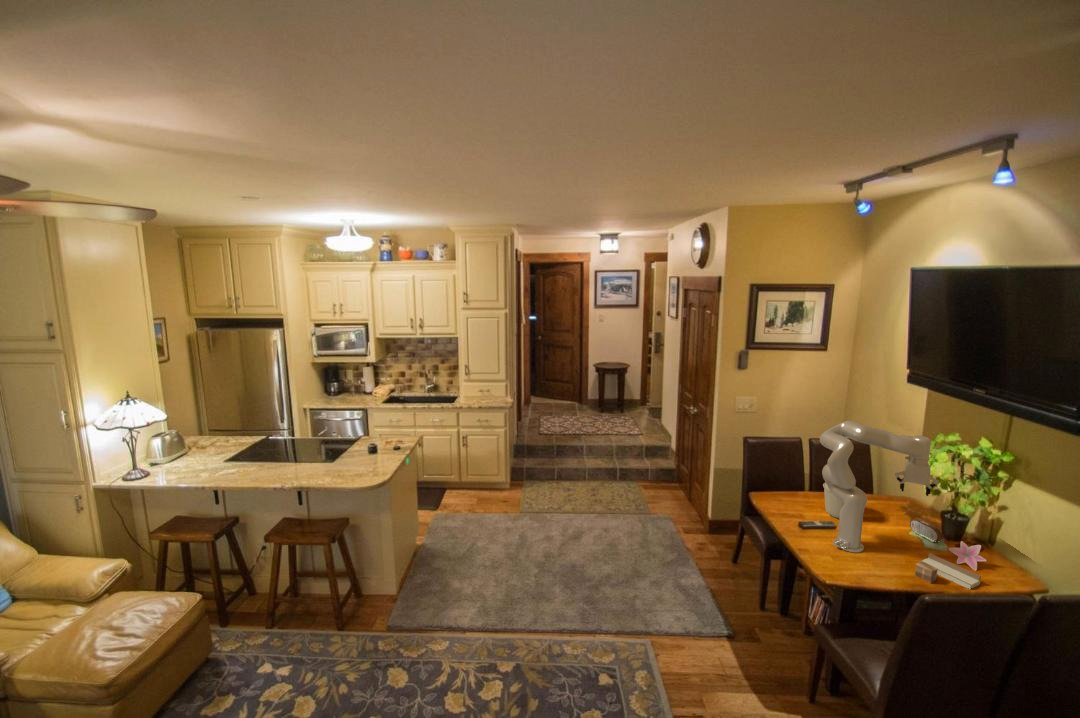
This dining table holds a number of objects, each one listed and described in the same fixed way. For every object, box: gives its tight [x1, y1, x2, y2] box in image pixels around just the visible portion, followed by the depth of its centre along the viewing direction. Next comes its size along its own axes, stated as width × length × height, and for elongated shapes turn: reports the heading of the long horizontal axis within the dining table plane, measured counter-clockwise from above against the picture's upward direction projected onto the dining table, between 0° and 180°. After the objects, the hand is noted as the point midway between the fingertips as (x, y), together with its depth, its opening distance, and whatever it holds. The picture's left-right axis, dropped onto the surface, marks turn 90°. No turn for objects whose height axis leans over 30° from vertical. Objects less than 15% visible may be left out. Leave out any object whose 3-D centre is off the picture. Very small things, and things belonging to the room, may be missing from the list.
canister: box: [822, 482, 857, 520], centre depth 260 cm, size 18×18×21 cm
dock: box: [919, 553, 982, 590], centre depth 207 cm, size 8×19×4 cm, turn 23°
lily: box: [947, 540, 987, 572], centre depth 215 cm, size 12×12×10 cm
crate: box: [914, 560, 938, 584], centre depth 205 cm, size 5×6×6 cm
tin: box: [909, 517, 944, 543], centre depth 237 cm, size 15×3×8 cm, turn 12°
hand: (914, 492), depth 230 cm, fingers open, 9 cm apart
